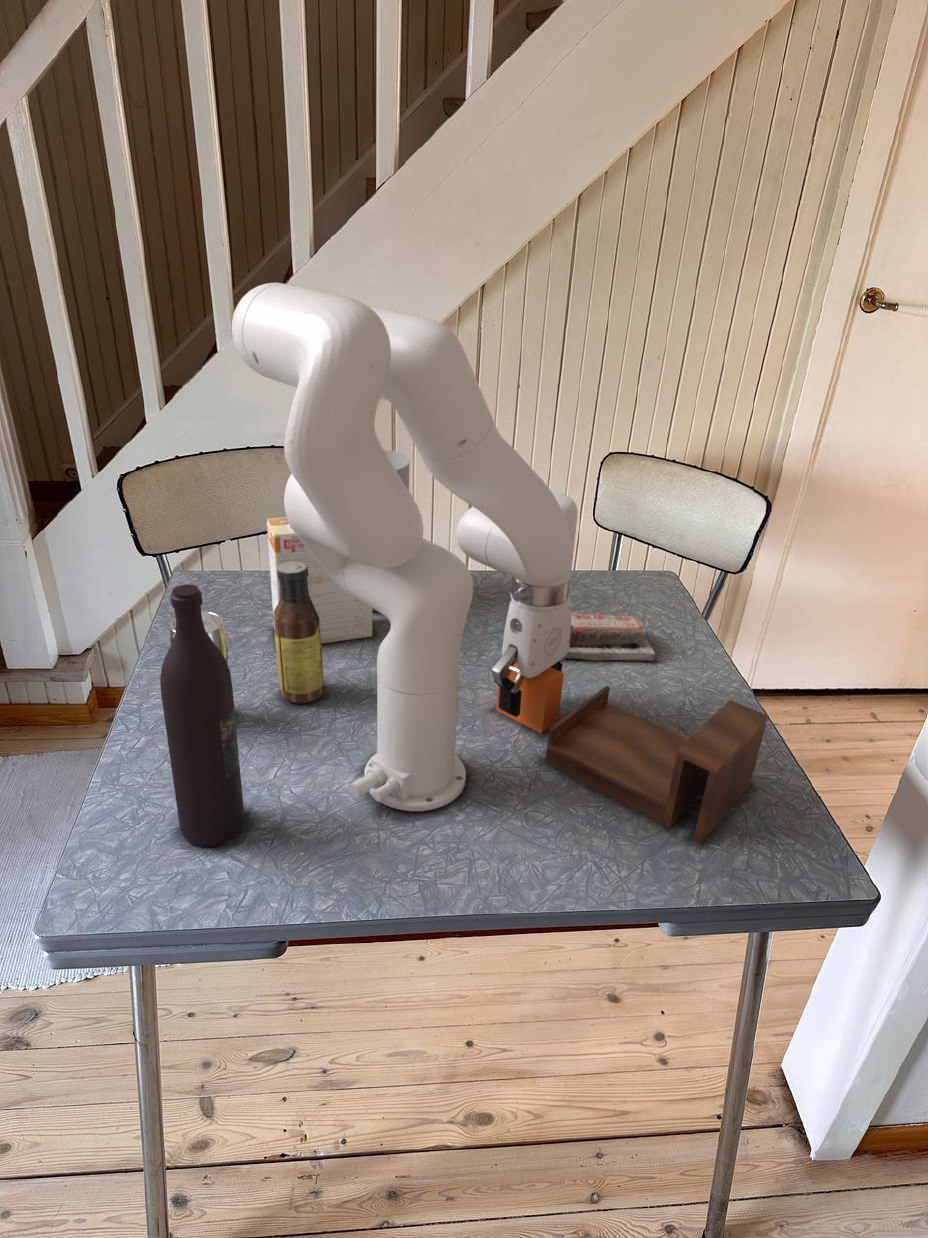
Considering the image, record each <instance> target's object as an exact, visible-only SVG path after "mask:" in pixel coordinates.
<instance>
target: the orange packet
mask: <svg viewBox="0 0 928 1238" xmlns="http://www.w3.org/2000/svg"><path fill="white" fill-rule="evenodd" d="M513 666H514V667H516V668H518V669H519V667H518V663H515V664H514V665H513ZM517 675H518V673H515V672H513V671H511V673H510V675H509V677H508V678H509V679H510V680H511V681H512V682H514V681H515V679H516V677H517ZM564 677H565V673H564V672H560V671H558V670H556V669H553V668H551V667H549V668H548V669H546V670H545V671H543V672H542V673H540V674H538V675H537V676H535V677H533V678H526V677H525V678H524V680H523V682H522V684H521V686H520V688H519V690H520V691H522V694H521V706H520V715H518V716H517V717H515V716H513V715H511V714H509V713H507V712H505V711H503V710H501V709H499V695H500V687H499V686H498V685H497V691H496V693H497V694H496V704H495V711H496V712H498V713H499V714H502V715H503V716H506V717H507V718H509V719H511V720H514V721H515V722H517V723H519V724H522V725H524V726H525V727H528V728H529V729H532V730H533V731H536V732H538V733H539V734H543V733H545V732H546V731H548V730H549V728H550V727H552V726H553V725H554V724H556V723H557V722H558V721H559V716H560V709H561V701H562V691H563V684H564Z"/></svg>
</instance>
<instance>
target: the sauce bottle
mask: <svg viewBox="0 0 928 1238" xmlns="http://www.w3.org/2000/svg"><path fill="white" fill-rule="evenodd" d="M277 577H278V579H279V582H280V600H279V603H278V605H277V606H276V609H275V610H274V618H273V625H274V624H275V630H274V642H275V650H276V651H275V652H276V662H277V672H278V673H277V674H278V684H279V688H280V690H279V691H280V693H281V696H282V697H283V699H284V700H285V701H287V702H290V703H292V704H308V703H311V702H313V701H315V700H318V699H320V697H322V695H323V693H324V682H325V679H324V666H323V664H324V663H323V652H322V651H323V650H322V643H321V635H320V620H319V616H318V614H317V612H316V609H315V607H314V605H313V603H312V600H311V598H310V596H309V591H308V582H307V577H308V567H307V565H306V564H304V563H302V562H285V563H282V564H280V565H279V566H278V567H277Z"/></svg>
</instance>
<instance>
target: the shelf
mask: <svg viewBox="0 0 928 1238" xmlns="http://www.w3.org/2000/svg"><path fill="white" fill-rule="evenodd" d="M610 690H611V687H610V686H608V685H605V686H604V687H602V689H600V690H599V691H597V692H596V693H595V694H593V695H592V696H590V697H589V698H588V699H587V700H585V701H583V702H582V703H581V704H580V705H579V706H577V707H576V708H574V709H573V710H572V711H570V712H569V713H567V714H566V715H565V716H563V717H562V718H561V719H559V720H558V722H557V723H555V724H554V725H553V726H551V727H550V728H549V729H548V734H547V735H548V736H547V744H546V750H545V751H546V753H545V761H544V764H546V765H549V766H550V767H552V768H554V769H556V770H557V771H560V772H562V773H564V774H565V775H568V776H569V777H572V778H573V779H575V780H577V781H578V782H579V781H580V783H583V784H584V785H587V786H589V787H591V788H593V789H594V790H596V791H598V792H600V793H602V794H605V795H606V796H608V797H609V798H612V799H614V800H616V801H618V802H620V803H621V804H624V805H625V806H627V807H629V808H631V809H633V810H635V811H637V812H639V813H641V814H642V815H645V816H647V817H649V818H650V819H652V820H654V821H656V822H658V823H659V824H662V825H664V826H666V827H668V828H671V827H672V826H673V825H674V824H675V823H676V822H677V820H679V818H680V817H681V816H682V815H683V814H684V813H685V812H686V811H687V810H688V808H690V807H691V805H692V804H694V802H695V801H696V800H697V799H698V798H699V797H700V796H701V795H702V794H703V797H702V802H701V806H700V810H699V814H698V817H697V822H696V827H695V831H694V834H693V835H694V836H693V841H695V842H697V843H699V844H702V843H703V842H704V841H705V840H706V838H707V837H708V836H709V835H710V834H711V833H712V832H713V830H714V829H715V828H716V827H717V826H718V824H719V823H721V821H722V820H723V819H724V817H725V816H726V815H727V814H728V813H729V812H730V811H731V809H732V808H733V807H734V806H735V805H736V804H737V802H738V801H739V800H740V799H741V798H742V797H743V795H744V794H745V793H746V792H747V790H748V789H749V788H750V787H751V783H752V779H753V776H754V773H755V772H754V771H755V767H756V764H757V760H758V757H759V754H760V753H759V752H760V749H761V745H762V741H763V738H764V733H765V730H766V726H767V722H768V719H769V715H768V714H765V713H763V712H761V711H759V710H756V709H753V708H751V707H749V706H746V705H744V704H741V703H739V702H737V701H734V700H733V699H732V700H731V699H729V700H728V701H727V702H726V703H725V704H723V706H721V707H720V709H718V710H717V711H716V712H715V713H714V714H713V715H712V716H711V717H710V718H709V719H708V720H707V721H706V722H705V723H704V724H703V725H702V726H700V728H699V729H697V730H696V731H695V732H694V733H693V734H692V735H691V736H690V737H689V738H688V737H686V736H684V735H681V734H679V733H677V732H675V731H672V730H671V729H668V728H666V727H664V726H661V725H659V724H657V723H654V722H653V721H650V720H648V719H646V718H644V717H641V716H640V715H637V714H635V713H633V712H630V711H628V710H626V709H624V708H621V707H619V706H618V705H614V704H612V703H611V702H609V696H610Z"/></svg>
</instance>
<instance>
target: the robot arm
mask: <svg viewBox="0 0 928 1238" xmlns="http://www.w3.org/2000/svg"><path fill="white" fill-rule="evenodd" d="M231 335H232V336H231V337H232V341H233V344H234V347H235V350H236V352H237V353H238V355H239V357H240V358H241V359H242V361H243V362H244V363H245V365H247V367H248V368H250V369H251V370H252V371H253V372H255V373H257V374H258V375H260V376H262V377H265V378H267V379H270V380H272V381H275V382H278V383H282V384H284V385H288V386H291V387H294V388H296V391H295V394H294V397H293V400H292V402H291V407H290V411H289V416H288V419H287V424H286V429H285V433H284V442H283V443H284V444H283V449H284V450H283V451H284V457H285V460H286V463H287V466H288V469H289V472H290V475H289V477H288V479H287V482H286V484H285V489H284V495H283V504H284V512H285V517H287V519H288V522H289V524H290V526H291V528H292V529H293V531H294V532H295V534H296V535H297V536H298V538H299V539H300V540H301V542H302V543H303V544H304V545H305V547H306V548H307V549H308V550H309V552H310V553H311V554H312V555H313V557H314V558H315V559H316V560H317V561H318V563H319V564H320V565H321V566H322V568H323V569H324V570H325V571H326V572H327V574H328V575H329V576H330V577H331V578H332V580H333V581H334V582H335V583H336V584H337V585H338V586H339V587H340V588H341V589H342V590H344V591H345V592H346V593H348V594H349V595H351V596H352V597H354V598H356V599H358V600H360V601H361V602H363V603H365V604H367V605H369V606H370V607H372V608H374V609H376V610H377V611H376V612H378V613H379V614H382V615H383V616H385V617H386V618H387V619H388V621H389V623H390V628H389V631H388V633H387V635H385V637H384V638H383V640H382V642H381V643H380V645H379V647H378V651H377V657H376V681H377V682H376V688H377V689H376V693H377V695H376V696H377V697H376V700H377V701H376V704H377V706H376V715H377V716H376V732H377V733H376V734H377V735H376V753H375V754H373V755H372V756H371V757H370V759H368V762H367V763H366V765H365V767H364V776H363V777H359V778H357V779H355V781H353V782H351V783H349V785H348V792H349V795H350V796H351V797H352V798H353V799H356V800H358V799H359V798H361V797H363V796H364V795H366V794H367V793H369V794H370V795H371V797H373V799H374V800H375V801H376V802H378V803H381V804H383V805H384V806H387V807H390V808H392V809H396V810H399V811H405V812H406V811H407V812H426V811H431V810H435V809H439V808H441V807H444V806H446V805H448V804H450V803H452V802H453V801H454V800H455V799H457V798H458V797H459V795H461V794H462V793H463V790H464V788H465V785H466V779H467V771H466V767H465V765H464V763H463V761H462V760H461V758H459V757H458V756H457V755H456V739H457V738H456V737H457V721H458V720H457V719H458V700H459V699H458V698H459V684H460V683H459V681H460V662H461V661H460V660H461V649H462V642H463V641H462V640H463V634H464V631H465V630H464V629H465V625H466V620H467V617H468V614H469V610H470V607H471V604H472V600H473V594H474V581H473V576H472V574H471V572H470V569H469V568H468V567H467V565H466V564H465V562H464V561H463V560H462V559H461V558H460V557H458V556H457V555H456V554H454V553H453V552H451V550H448V549H447V548H445V547H443V546H441V545H440V544H439V545H438V544H437V543H434V542H432V541H430V540H428V539H425V538H424V522H423V517H422V514H421V511H420V508H419V506H418V504H417V502H416V500H415V499H414V497H413V495H412V493H411V492H410V489H409V490H408V489H407V487H406V486H405V484H404V483H403V481H402V479H401V478H400V476H399V475H398V473H397V471H396V470H395V468H394V466H393V465H392V463H391V462H390V460H389V458H388V457H387V455H386V453H385V452H384V450H385V449H384V448H383V446H382V444H381V442H380V440H379V438H378V436H377V433H376V427H375V425H376V421H375V420H376V416H377V415H376V414H377V409H378V405H379V401H380V399H384V400H386V401H388V402H389V403H390V404H391V405H392V406H393V407H394V409H395V410H396V412H397V415H398V416H399V418H400V420H401V422H402V424H403V425H404V427H405V429H406V431H407V432H408V435H409V436H410V438H411V440H412V443H413V444H414V445H415V448H416V450H417V452H418V453H419V455H420V458H421V459H422V461H423V463H424V466H425V468H426V469H427V471H428V472H429V474H431V476H432V477H433V478H434V479H435V480H437V482H438V483H440V484H441V485H442V486H444V488H446V489H447V490H448V491H449V492H450V493H452V494H453V495H455V496H456V497H457V498H459V499H461V500H463V501H464V502H465V503H467V504H468V505H470V506H471V507H470V508H469V509H468V510H466V511H465V513H463V515H462V516H461V517H460V519H459V521H458V523H457V526H456V531H455V534H456V535H455V538H456V542H457V546H458V547H459V548H460V550H461V552H463V554H464V555H466V556H467V557H468V558H470V559H472V560H473V561H474V562H477V563H479V564H482V565H484V566H487V567H489V568H491V569H493V570H495V571H498V572H500V573H503V574H505V575H507V576H509V577H511V585H510V586H511V587H510V598H511V600H510V602H509V606H508V609H507V610H508V611H507V615H506V620H505V624H504V630H503V631H504V632H503V638H502V646H501V647H502V649H501V656H500V658H499V660H498V661H497V662H496V663H495V665H494V666H493V667H492V669H491V674H492V677H493V679H494V683H495V684H496V685H497V687H498V686H499V687H500V695H499V709H501V710H503V711H505V712H507V713H509V714H511V715H513V716H515V717H517V716H518V715H520V706H521V694H522V691H520V690H519V688H520V686H521V684H522V682H523V680H524V678H525V677H526V678H533V677H535V676H537V675H538V674H540V673H542V672H543V671H545V670H546V669H548V668H549V667H551V668H553V669H556V670H558V671H560V672H562V671H563V662H564V661H565V660H566V658H565V656H566V654H567V653H568V650H569V644H570V635H571V633H572V630H573V626H572V625H571V614H572V600H571V593H570V586H571V585H570V584H571V579H572V577H571V576H572V568H573V560H574V552H575V551H574V550H575V542H576V533H577V524H578V516H579V515H578V513H579V510H578V505H577V503H576V502H575V500H574V499H573V498H572V497H570V496H569V495H566V494H565V493H564V494H563V493H560V492H556V491H552V490H551V488H550V487H549V486H548V485H547V483H546V482H545V481H544V480H543V478H541V476H539V474H538V473H537V472H536V471H535V470H534V469H533V468H532V467H531V465H529V464H528V462H526V460H524V458H523V457H522V456H521V454H520V453H519V452H517V450H516V449H515V448H513V446H512V445H511V444H509V442H508V441H506V439H504V437H503V436H502V434H501V433H500V432H499V430H498V428H497V426H496V422H495V421H494V418H493V415H492V414H491V411H490V408H489V406H488V404H487V402H486V399H485V397H484V395H483V392H482V390H481V387H480V385H479V383H478V380H477V378H476V375H475V373H474V371H473V367H472V366H471V363H470V360H469V359H468V356H467V354H466V351H465V349H464V348H463V345H462V343H461V341H460V340H459V338H458V337H457V335H456V334H455V333H454V332H453V330H451V329H450V327H448V326H447V325H445V324H444V323H442V322H439V321H437V320H435V319H432V318H428V317H424V316H420V315H415V314H410V313H405V312H402V311H401V312H400V311H397V310H396V311H394V310H391V309H387V308H381V307H377V306H370V305H366V304H365V303H363V302H362V301H360V300H357V299H354V298H352V297H348V296H346V295H341V294H337V293H331V292H328V291H323V290H318V289H313V288H309V287H304V286H303V287H302V286H298V285H293V284H288V283H282V282H268V283H263V284H259V285H257V286H255V287H254V288H252V289H250V290H248V292H247V293H246V294H245V295H243V296H242V297H241V299H240V300H239V302H238V303H237V305H236V307H235V309H234V312H233V314H232V320H231ZM515 663H518V667H519V669H518V668H516V667H514V666H513V665H514V664H515ZM511 671H513V672H515V673H518V675H517V677H516V679H515V681H514V682H512V681H511V680H510V679H509V678H508V677H509V675H510V673H511ZM562 673H563V672H562Z"/></svg>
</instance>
